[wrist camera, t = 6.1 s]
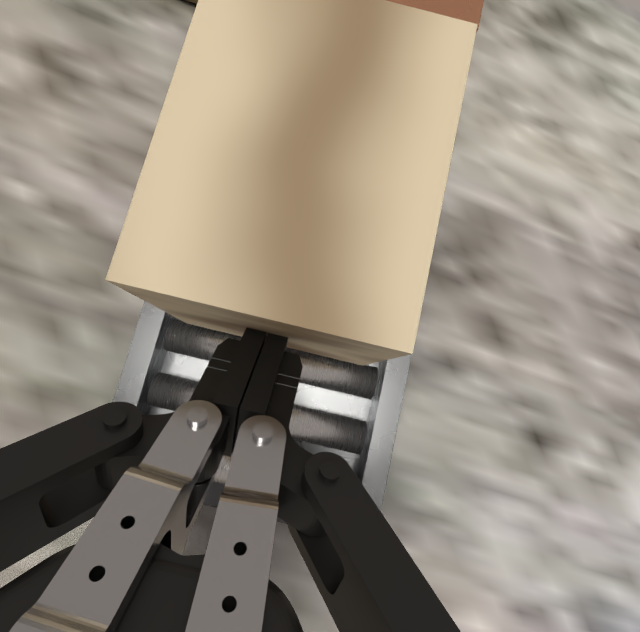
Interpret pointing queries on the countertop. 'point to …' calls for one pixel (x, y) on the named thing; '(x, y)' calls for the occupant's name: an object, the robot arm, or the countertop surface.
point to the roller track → (315, 381)
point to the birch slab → (300, 173)
